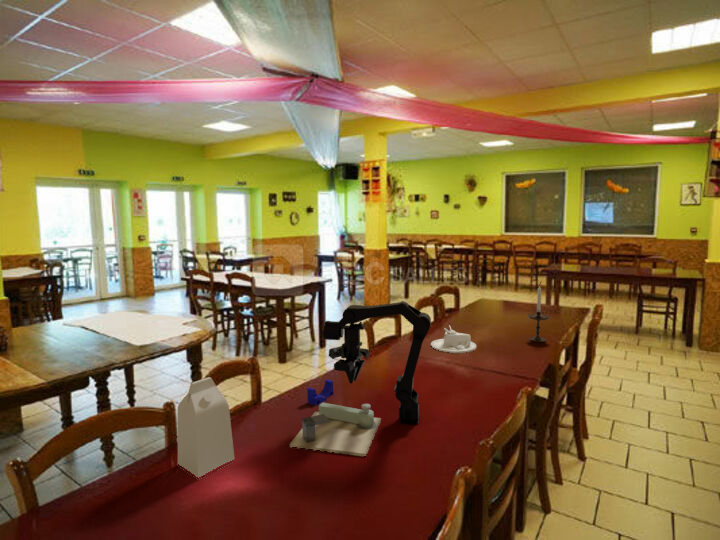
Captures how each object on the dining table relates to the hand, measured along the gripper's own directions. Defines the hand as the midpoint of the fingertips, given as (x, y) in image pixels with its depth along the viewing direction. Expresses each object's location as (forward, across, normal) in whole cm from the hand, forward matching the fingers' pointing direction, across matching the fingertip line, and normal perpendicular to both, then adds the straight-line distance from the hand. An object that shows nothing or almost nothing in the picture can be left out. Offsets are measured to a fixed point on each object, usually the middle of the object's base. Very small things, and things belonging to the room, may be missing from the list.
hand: (352, 381), depth 159 cm
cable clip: (+13, -9, -18) cm, 24 cm away
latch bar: (+12, +6, 0) cm, 13 cm away
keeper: (+12, +21, -4) cm, 24 cm away
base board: (+13, +14, +1) cm, 19 cm away
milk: (+13, +45, -28) cm, 55 cm away
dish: (+14, -98, +16) cm, 101 cm away
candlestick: (+13, -127, +59) cm, 141 cm away
